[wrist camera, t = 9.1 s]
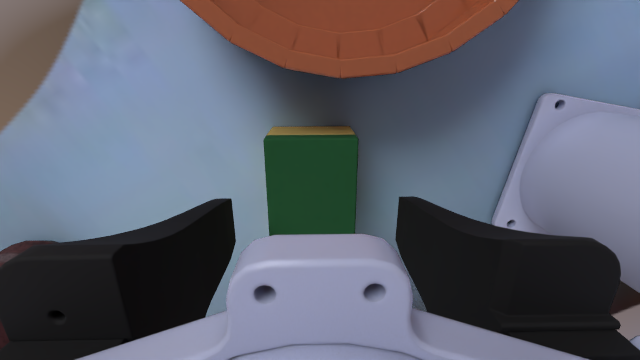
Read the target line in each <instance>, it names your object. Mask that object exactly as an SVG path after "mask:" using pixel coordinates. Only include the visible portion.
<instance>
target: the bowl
mask: <svg viewBox="0 0 640 360" xmlns="http://www.w3.org/2000/svg"><path fill="white" fill-rule="evenodd" d="M180 1H181V2H182V3H184V4H185V5H186V6H187V7H188V8H189V9H191V10H192V11H193V12H194V13H195V14H197V15H198V16H199V17H200V18H201V19H203V20H204V21H205V22H206V23H207V24H209V25H210V26H211V27H212V28H213V29H214V30H216V31H217V32H218V33H219V34H220V35H222V36H223V37H224V38H225V39H226V40H228V41H229V42H231V43H232V44H234V45H236V46H238V47H240V48H243V49H245V50H247V51H249V52H251V53H253V54H255V55H257V56H259V57H261V58H263V59H265V60H267V61H269V62H272V63H274V64H276V65H278V66H280V67H282V68H285V69H289V70H294V71H299V72H305V73H310V74H316V75H321V76H326V77H332V78H341V79H345V78H356V77H366V76H377V75H387V74H395V73H400V72H402V71H405V70H407V69H410V68H413V67H415V66H418V65H421V64H423V63H426V62H429V61H431V60H434V59H436V58H439V57H442V56H444V55H447V54H450V53H451V52H453V51H455V50H456V49H458V48H459V47H461V46H462V45H464V44H465V43H466V42H468V41H469V40H471V39H472V38H474V37H475V36H476V35H478V34H479V33H481V32H482V31H484V30H485V29H486V28H488V27H489V26H491V25H492V24H494V23H495V22H497V21H498V20H499V19H501V18H502V17H503V16H504V15H506V14H507V13H508V12H509V11H510V10H511V8H512V7H513V6H514V5H515V4H516V3H517V2H518V1H519V0H180Z"/></svg>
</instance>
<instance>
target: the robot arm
mask: <svg viewBox="0 0 640 360" xmlns="http://www.w3.org/2000/svg"><path fill="white" fill-rule="evenodd" d="M558 100H559V106H558V107H557V108H555V104H556V102H557V101H558ZM510 220H511V223H510V224H508V225H507V223H508V221H510ZM235 242H236V239H235V229H234V219H233V210H232V200H231V199H214V200H211V201H208V202H206V203H203V204H201V205H199V206H197V207H195V208H193V209H190V210H188V211H186V212H184V213H181V214H179V215H177V216H174V217H172V218H169V219H167V220H164V221H162V222H159V223H156V224H153V225H150V226H147V227H144V228H140V229H137V230H133V231H128V232H124V233H120V234H116V235H111V236H106V237H101V238H95V239H88V240H81V241H73V242H63V243H52V244H41V245H33V246H32V247H30V248H28V249H27V250H25V251H23V252H22V253H20V254H18V255H17V256H15V257H14V258H12V259H10V260H9V261H7V262H5V263H4V264H3V265H2V266H1V267H0V320H1V323H2V325H3V327H4V330H5V332H6V335H7V337H8V339H9V341H10V342H9V343H7V344H6V345H5V346H4V347H3V348H2V349H1V350H0V360H640V336H636V337H634V338H633V339H631V340H630V341H628V340H627V339H626V338H625V337H624V336H622V335H621V334H620V333H619V332H618V331H617V330H615V329H619V328H620V326H621V325H620V323H619V321H618V320H616V319H615V318H614V317H613V316H612V315H610V314H609V310H610V307H611V305H612V302H613V299H614V297H615V294H616V291H617V289H618V286H619V282H620V280H621V281H622V282H624V283H625V284H627V285H628V286H630V287H631V288H633V289H634V290H636V291H637V292H639V293H640V109H634V108H629V107H624V106H619V105H613V104H608V103H603V102H597V101H592V100H587V99H582V98H576V97H571V96H566V95H560V94H555V93H546V94H543V95H542V96H541V97H540V98H539V99H538V101H537V104H536V106H535V109H534V112H533V114H532V117H531V119H530V122H529V125H528V127H527V130H526V132H525V135H524V138H523V140H522V143H521V145H520V148H519V150H518V153H517V156H516V158H515V161H514V163H513V166H512V169H511V171H510V174H509V176H508V179H507V182H506V184H505V187H504V189H503V192H502V195H501V197H500V200H499V202H498V205H497V208H496V210H495V213H494V215H493V218H492V225H491V224H487V223H484V222H480V221H477V220H473V219H470V218H467V217H465V216H462V215H459V214H457V213H454V212H452V211H449V210H447V209H444V208H442V207H440V206H437V205H435V204H433V203H430V202H428V201H426V200H423V199H421V198H417V197H399V206H398V218H397V229H396V242H397V245H398V249H399V252H400V255H401V258H402V260H403V262H404V264H405V266H406V268H407V270H408V272H409V274H410V276H411V278H412V280H413V282H414V284H415V286H416V288H417V290H418V292H419V294H420V296H421V298H422V300H423V302H424V304H425V307H426V310H427V312H425V311H421V310H418V309H414V308H412V301H413V294H412V289H411V285H410V280H409V277H408V275H407V272H406V270H405V268H404V266H403V264H402V262H401V260H400V257H399V255H398V253H397V251H396V250H395V249H394V248H393V247H392V246H391V245H390V244H388V243H387V242H386V241H385V240H384V239H383V238H379V237H375V236H371V235H366V234H305V235H272V236H268V237H264V238H260V239H256V240H254V241H253V242H252V243H251V244H250V245H249V246H248V247H247V248H246V249H245V250H244V251H243V252H241V254H240V257H239V259H238V262H237V264H236V266H235V269H234V271H233V274H232V276H231V279H230V282H229V287H228V292H227V297H226V305H227V311H224V312H221V313H217V314H214V315H211V316H208V317H205V316H206V313H207V310H208V307H209V305H210V303H211V300H212V298H213V296H214V294H215V292H216V290H217V287H218V285H219V283H220V281H221V279H222V277H223V275H224V273H225V271H226V268H227V266H228V264H229V262H230V260H231V256H232V253H233V249H234V246H235Z"/></svg>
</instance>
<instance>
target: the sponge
mask: <svg viewBox="0 0 640 360" xmlns="http://www.w3.org/2000/svg"><path fill="white" fill-rule="evenodd" d="M358 141H359V140H358V138H357V136H356V135H355V133H354V132H353V130H352V129H351V128H350V126H305V127H272V129H271V130H270V131H269V133H268V134H267V136H266V137H265V139H264V156H265V171H266V187H267V203H268V219H269V235H270V236H272V235H305V234H355V221H356V194H357V168H358Z"/></svg>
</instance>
